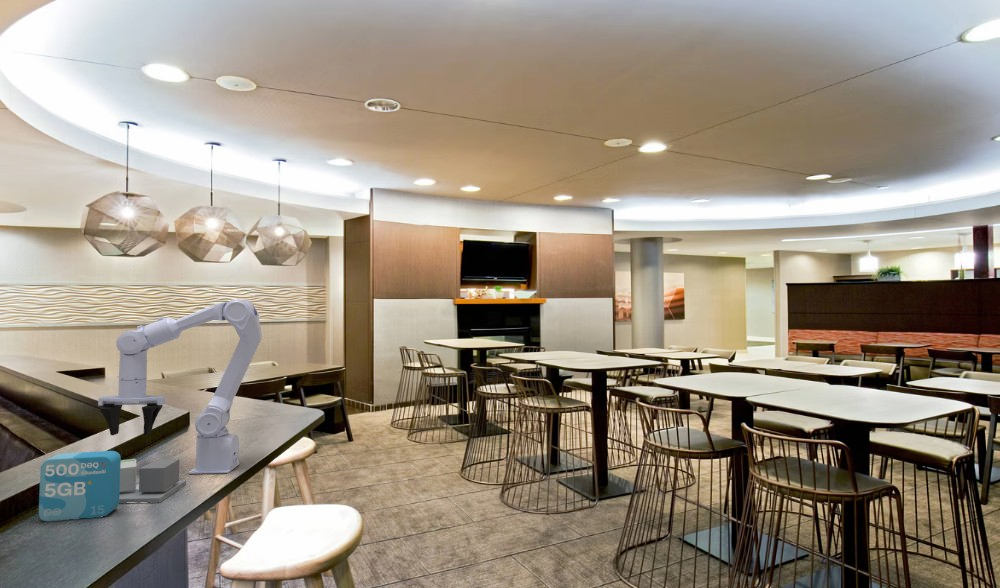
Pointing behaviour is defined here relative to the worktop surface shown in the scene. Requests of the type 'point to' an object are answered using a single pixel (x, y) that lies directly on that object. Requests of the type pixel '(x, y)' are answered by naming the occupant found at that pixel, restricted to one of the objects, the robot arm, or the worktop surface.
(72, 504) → the data package
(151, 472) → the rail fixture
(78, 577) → the worktop surface
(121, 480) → the module
